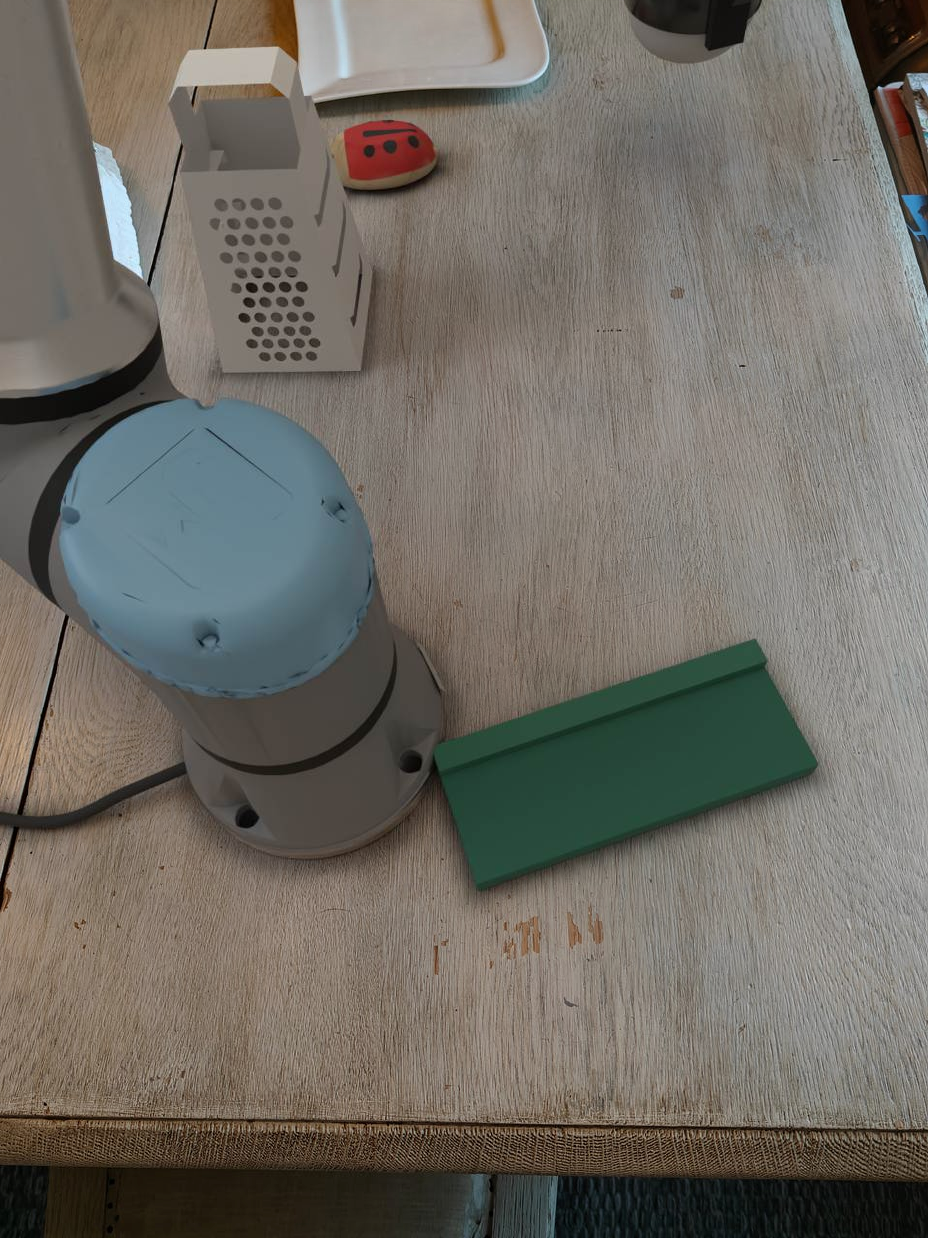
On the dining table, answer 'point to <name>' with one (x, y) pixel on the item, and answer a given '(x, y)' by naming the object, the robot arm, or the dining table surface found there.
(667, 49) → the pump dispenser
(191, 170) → the grater
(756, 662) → the green ledged plate
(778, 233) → the dining table surface
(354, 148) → the ladybug figurine
